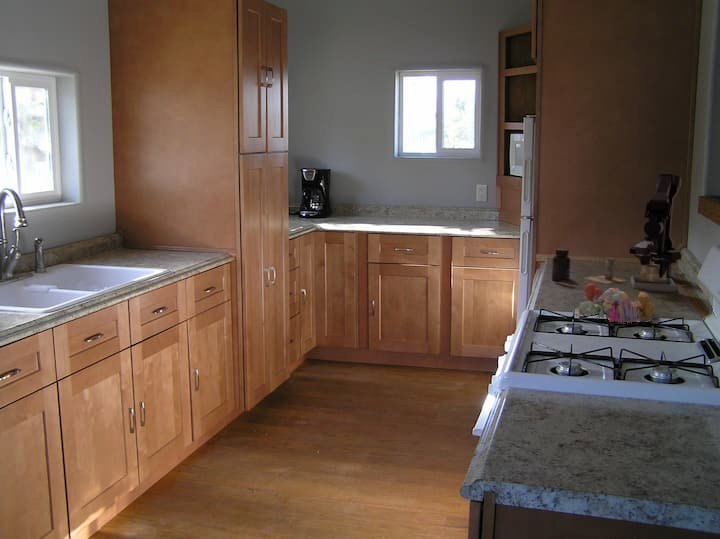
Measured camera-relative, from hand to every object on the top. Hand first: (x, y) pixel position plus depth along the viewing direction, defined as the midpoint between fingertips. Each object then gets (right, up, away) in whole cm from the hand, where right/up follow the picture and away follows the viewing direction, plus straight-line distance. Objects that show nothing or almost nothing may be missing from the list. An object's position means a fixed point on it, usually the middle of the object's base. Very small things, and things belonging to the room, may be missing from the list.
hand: (653, 276), depth 286 cm
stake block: (-14, -2, +12) cm, 18 cm away
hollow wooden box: (0, -1, 0) cm, 1 cm away
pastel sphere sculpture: (-28, -12, -43) cm, 52 cm away
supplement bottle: (-30, -2, +13) cm, 33 cm away
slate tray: (0, -4, +1) cm, 4 cm away
